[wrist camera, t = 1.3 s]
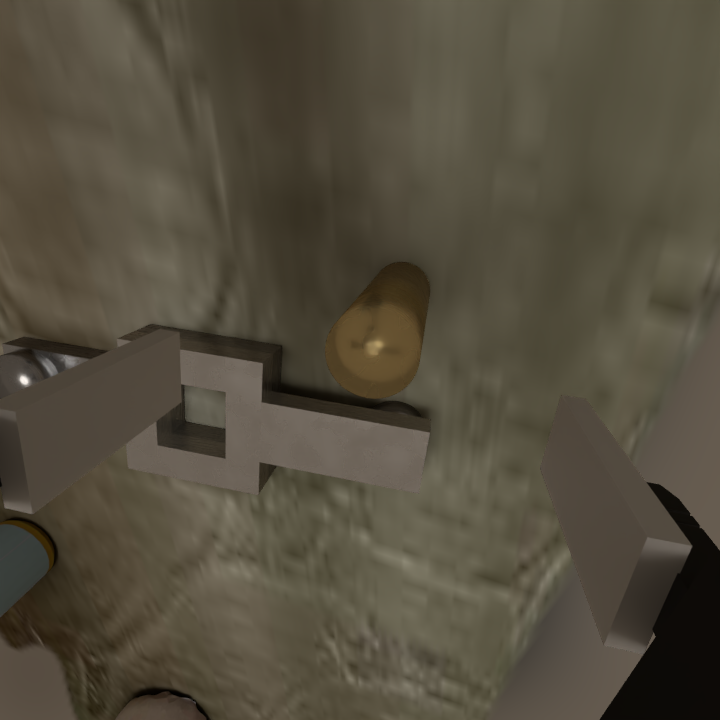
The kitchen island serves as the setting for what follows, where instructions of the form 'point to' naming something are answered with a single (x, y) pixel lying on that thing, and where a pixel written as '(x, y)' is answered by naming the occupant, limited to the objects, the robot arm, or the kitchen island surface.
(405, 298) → the pin
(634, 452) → the kitchen island surface
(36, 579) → the bottle
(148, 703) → the sculpture
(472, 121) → the kitchen island surface
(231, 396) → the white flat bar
